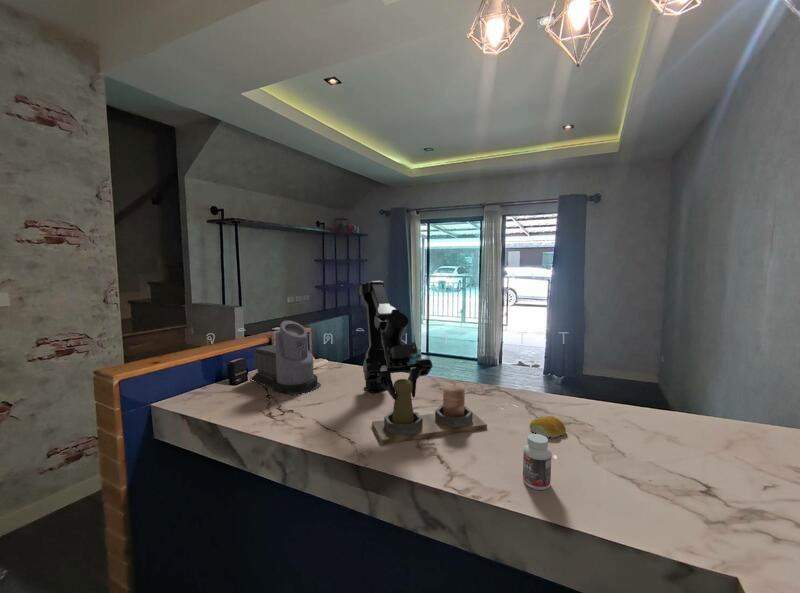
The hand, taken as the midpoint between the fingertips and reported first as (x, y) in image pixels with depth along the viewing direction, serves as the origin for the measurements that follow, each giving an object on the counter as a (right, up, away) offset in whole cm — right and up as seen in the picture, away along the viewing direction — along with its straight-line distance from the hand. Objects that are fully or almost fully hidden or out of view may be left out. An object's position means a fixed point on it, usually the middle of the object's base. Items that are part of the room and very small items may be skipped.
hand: (404, 398), depth 96 cm
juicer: (-45, -6, +41) cm, 61 cm away
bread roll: (+39, -10, +2) cm, 40 cm away
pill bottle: (+27, -12, -21) cm, 37 cm away
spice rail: (+7, -9, +4) cm, 12 cm away
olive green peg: (0, -7, +2) cm, 7 cm away
